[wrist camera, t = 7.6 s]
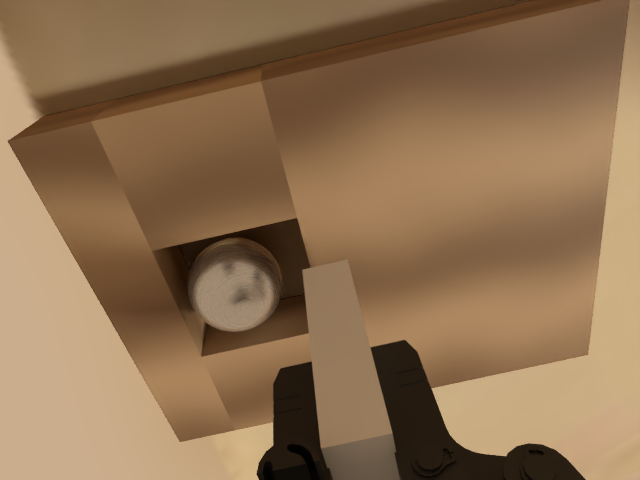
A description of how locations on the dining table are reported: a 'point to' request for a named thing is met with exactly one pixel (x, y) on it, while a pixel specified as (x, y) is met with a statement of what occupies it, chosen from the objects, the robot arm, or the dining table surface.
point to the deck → (354, 199)
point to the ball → (234, 284)
